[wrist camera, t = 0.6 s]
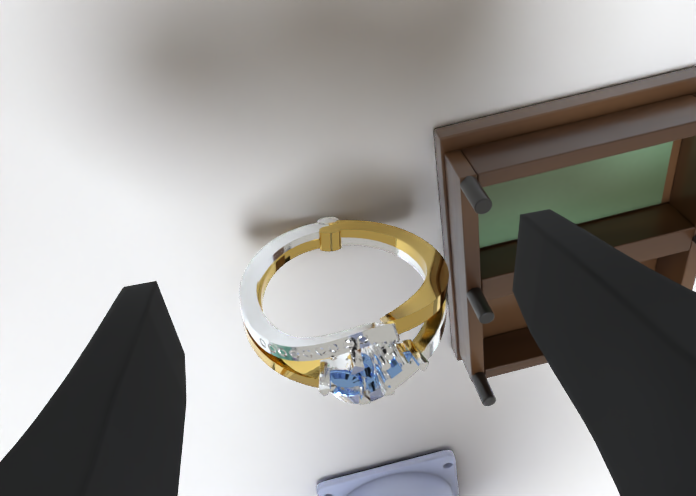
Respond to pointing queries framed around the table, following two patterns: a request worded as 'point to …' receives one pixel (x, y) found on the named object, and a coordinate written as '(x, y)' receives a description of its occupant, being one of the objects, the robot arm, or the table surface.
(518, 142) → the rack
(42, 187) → the table surface
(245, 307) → the ring
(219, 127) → the table surface
